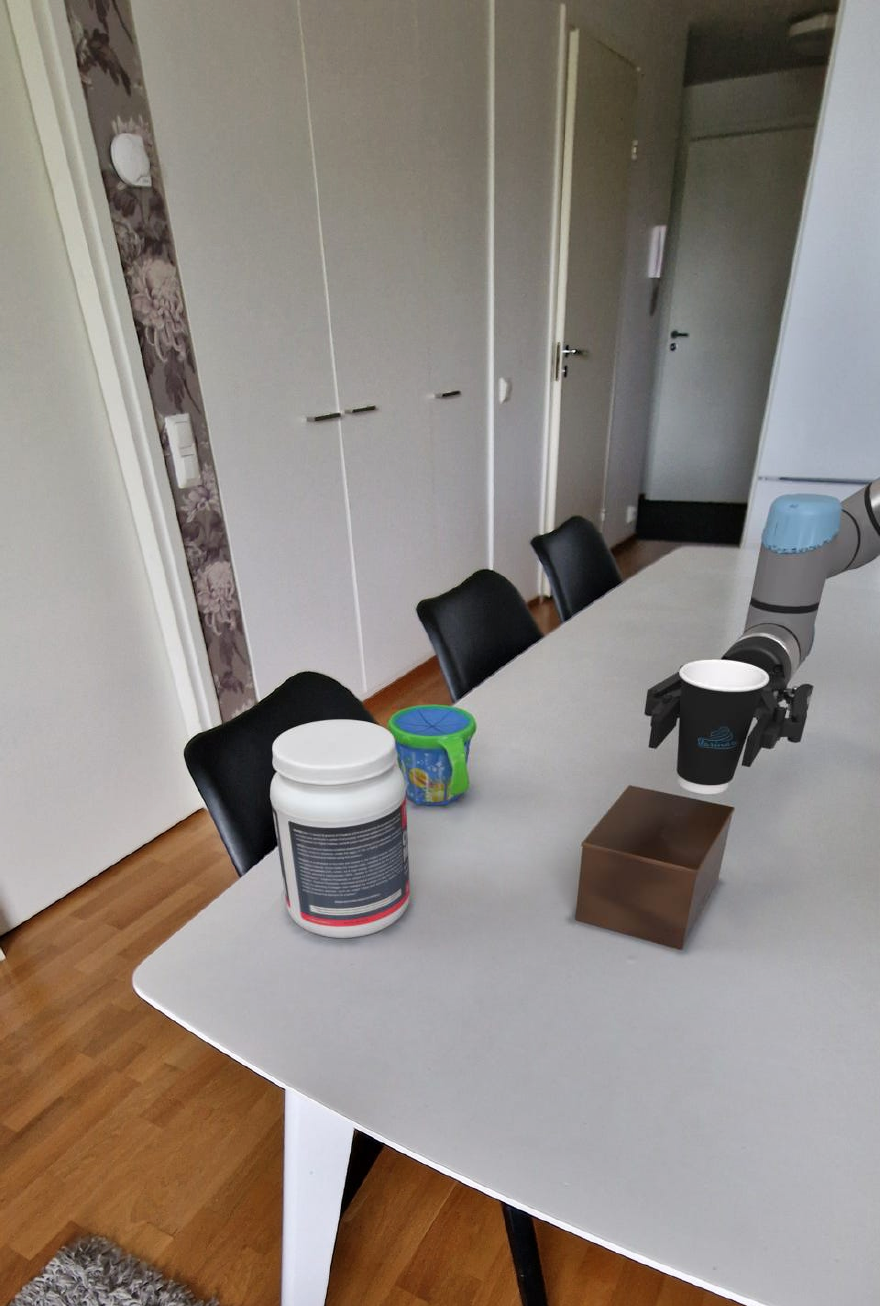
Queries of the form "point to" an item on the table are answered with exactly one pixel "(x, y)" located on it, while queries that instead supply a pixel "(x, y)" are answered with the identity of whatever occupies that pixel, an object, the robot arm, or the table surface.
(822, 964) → the table surface
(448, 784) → the snack cup
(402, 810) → the supplement tub
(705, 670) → the dixie cup
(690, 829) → the brown box
